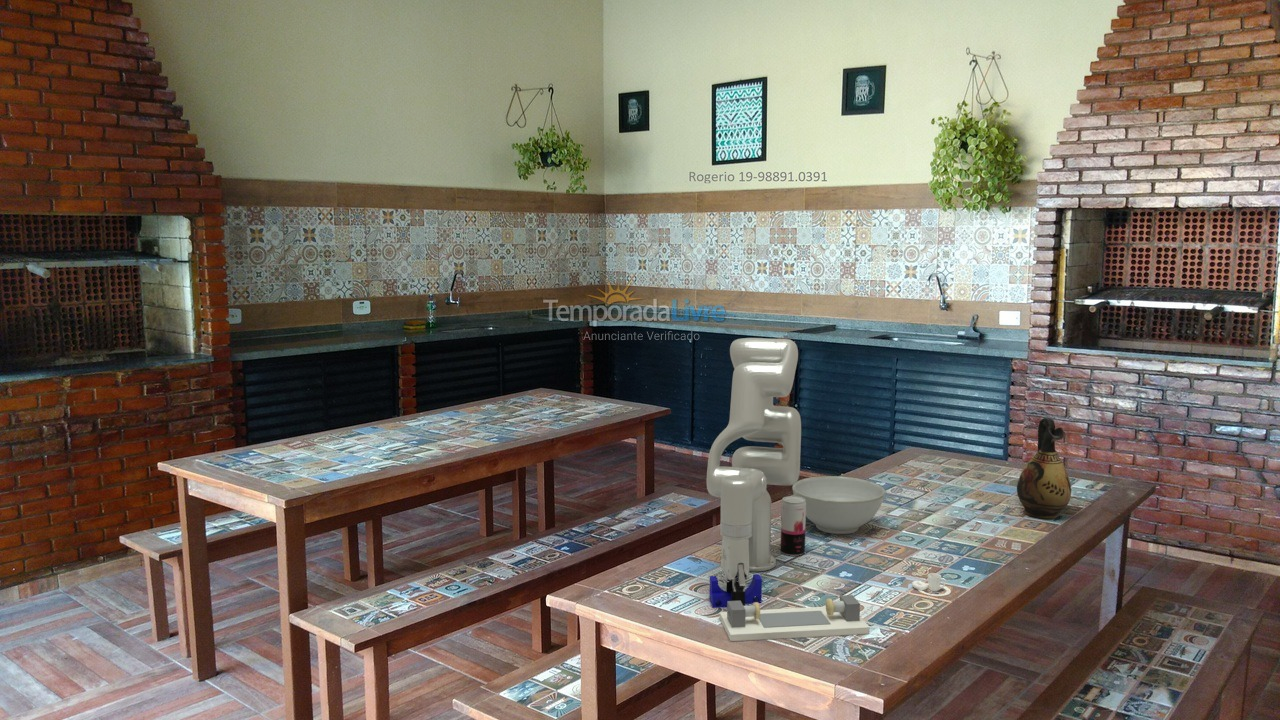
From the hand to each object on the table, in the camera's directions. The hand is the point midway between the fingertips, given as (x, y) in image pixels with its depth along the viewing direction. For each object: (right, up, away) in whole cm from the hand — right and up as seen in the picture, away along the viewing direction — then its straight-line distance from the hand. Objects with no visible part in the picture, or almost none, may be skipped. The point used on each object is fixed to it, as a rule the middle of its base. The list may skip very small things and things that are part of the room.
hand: (735, 601), depth 221 cm
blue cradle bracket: (0, -1, 0) cm, 1 cm away
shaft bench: (+12, -2, -13) cm, 17 cm away
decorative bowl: (+36, +8, +55) cm, 66 cm away
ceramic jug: (+102, +10, +67) cm, 122 cm away
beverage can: (+19, +4, +34) cm, 39 cm away
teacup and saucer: (+49, +1, +11) cm, 50 cm away
